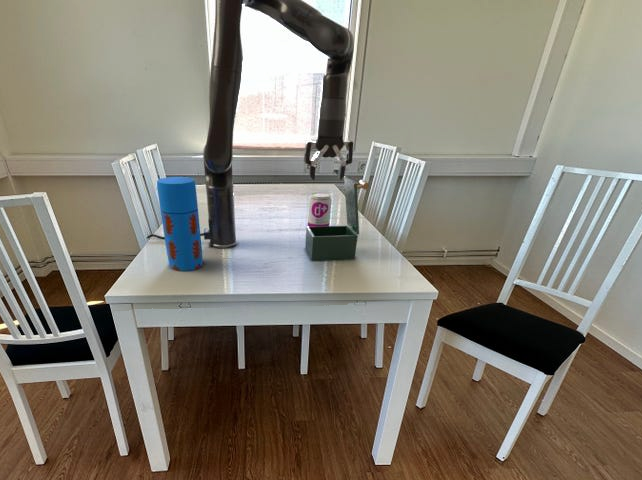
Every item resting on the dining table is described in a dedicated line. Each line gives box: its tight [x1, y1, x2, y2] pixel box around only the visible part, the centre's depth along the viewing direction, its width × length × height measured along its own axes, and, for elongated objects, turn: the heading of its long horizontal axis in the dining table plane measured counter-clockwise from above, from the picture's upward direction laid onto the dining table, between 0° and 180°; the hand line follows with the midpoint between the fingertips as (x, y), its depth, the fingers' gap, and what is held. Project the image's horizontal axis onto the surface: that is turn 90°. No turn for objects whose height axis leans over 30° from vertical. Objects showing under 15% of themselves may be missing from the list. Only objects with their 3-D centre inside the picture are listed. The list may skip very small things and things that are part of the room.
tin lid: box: [343, 175, 370, 235], centre depth 126 cm, size 15×12×6 cm
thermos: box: [156, 176, 204, 272], centre depth 119 cm, size 11×11×25 cm
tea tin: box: [304, 225, 359, 262], centre depth 133 cm, size 15×12×8 cm
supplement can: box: [306, 192, 333, 228], centre depth 146 cm, size 8×8×15 cm
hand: (326, 179), depth 121 cm, fingers open, 8 cm apart
